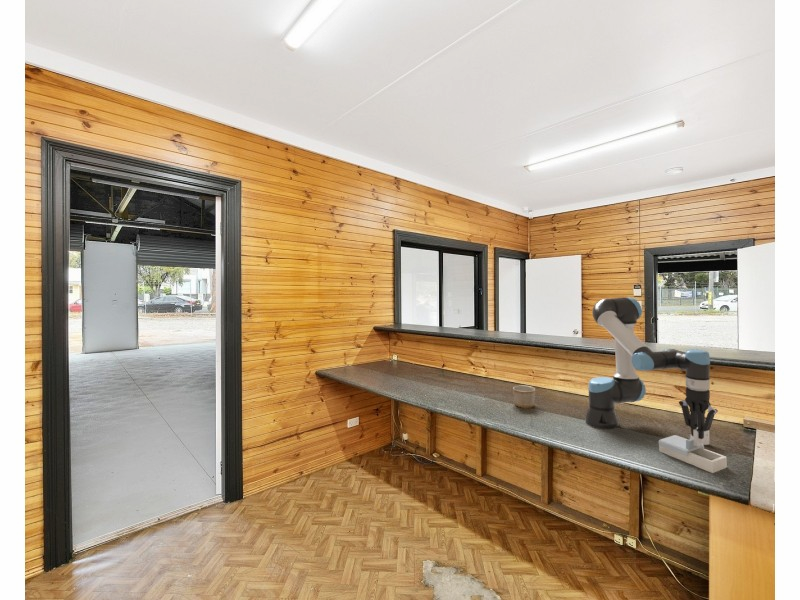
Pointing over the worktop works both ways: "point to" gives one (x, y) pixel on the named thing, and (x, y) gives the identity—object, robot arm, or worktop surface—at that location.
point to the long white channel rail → (700, 459)
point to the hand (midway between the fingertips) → (697, 445)
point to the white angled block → (706, 438)
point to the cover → (679, 444)
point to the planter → (524, 396)
